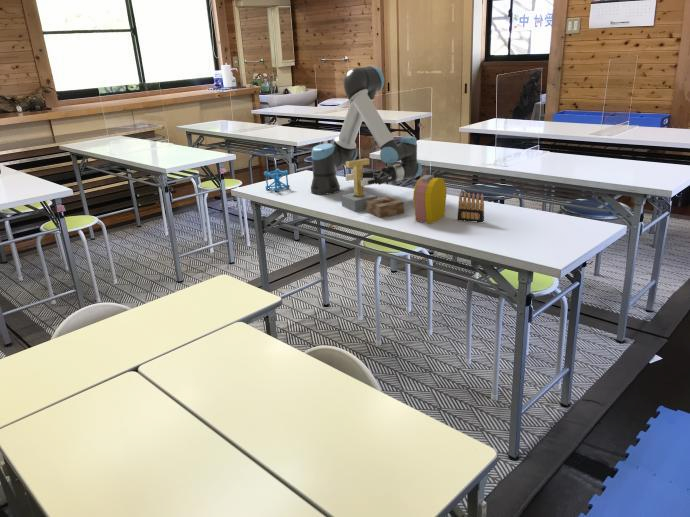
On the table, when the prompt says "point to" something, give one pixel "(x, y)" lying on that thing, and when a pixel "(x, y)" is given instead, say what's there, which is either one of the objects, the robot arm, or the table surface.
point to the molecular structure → (276, 179)
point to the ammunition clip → (471, 208)
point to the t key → (358, 175)
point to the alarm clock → (429, 199)
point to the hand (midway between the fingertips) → (353, 180)
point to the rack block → (356, 201)
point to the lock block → (384, 207)
